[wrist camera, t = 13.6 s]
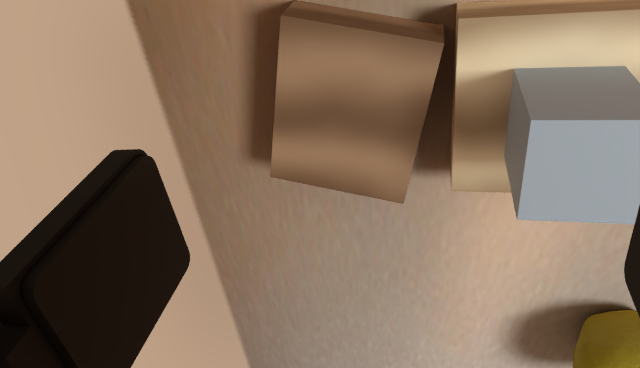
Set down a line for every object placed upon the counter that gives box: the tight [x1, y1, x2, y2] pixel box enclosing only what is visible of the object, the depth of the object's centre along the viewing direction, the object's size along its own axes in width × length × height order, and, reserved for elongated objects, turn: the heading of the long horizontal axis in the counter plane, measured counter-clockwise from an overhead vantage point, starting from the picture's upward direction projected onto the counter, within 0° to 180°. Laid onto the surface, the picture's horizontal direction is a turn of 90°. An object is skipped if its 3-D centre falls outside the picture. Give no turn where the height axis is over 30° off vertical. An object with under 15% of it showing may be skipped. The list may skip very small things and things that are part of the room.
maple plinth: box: [450, 0, 640, 193], centre depth 33 cm, size 12×12×4 cm
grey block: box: [504, 66, 640, 224], centre depth 28 cm, size 6×6×7 cm
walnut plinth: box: [270, 0, 444, 204], centre depth 36 cm, size 12×10×4 cm
